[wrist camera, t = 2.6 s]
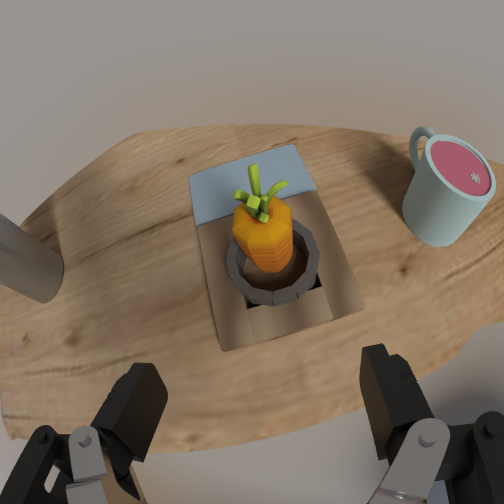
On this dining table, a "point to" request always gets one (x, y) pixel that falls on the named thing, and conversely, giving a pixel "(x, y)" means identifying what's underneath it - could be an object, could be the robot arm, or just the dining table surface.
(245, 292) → the ring stand
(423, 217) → the mug
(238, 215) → the carrot
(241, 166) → the slate mat
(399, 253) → the dining table surface
